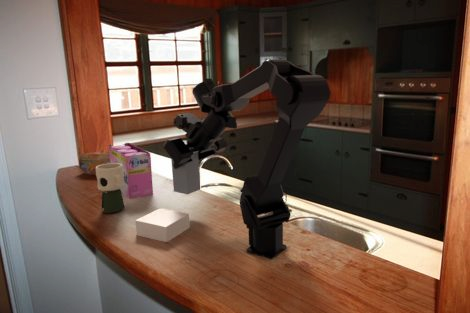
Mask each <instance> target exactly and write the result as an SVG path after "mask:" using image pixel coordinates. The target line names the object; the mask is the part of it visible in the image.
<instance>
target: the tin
mask: <svg viewBox="0 0 470 313" xmlns="http://www.w3.org/2000/svg"><path fill="white" fill-rule="evenodd" d="M78 163H79V164H78V166H79V168H80V170H81V171H82V172H83V173H84V174H86V175H94V176H96V166H98V165H102V164H107V163H110V157H109V152H108V153H107V152H85V153H82V155H81V156H80V158H79V160H78Z"/></svg>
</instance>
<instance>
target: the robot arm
mask: <svg viewBox="0 0 470 313" xmlns="http://www.w3.org/2000/svg"><path fill="white" fill-rule="evenodd" d="M267 90H269V92H270V93H271V94H272V95H273V96H274V97H275V98H276V101H275V106H276V110H277V113H278V117H279V118H278V120H277V122H276V125H275V129H274V130H273V133H272V136H271V138H270V141H269V144H268V147H267V149H266V152H265V153H264V154H265V155H264V158H263V160H262V163H261V166H260V167H259V171H258V173H257V174H256V175H255V174H254V175H251V176H246V178H245V179H244V180H243V185H242V187H241V189H240V190H239V191H240V193H241V194H240V197H239V207H240V213H241V216H242V217H241V218H242V220H243V221H242V222H243V224H244V225H245V226H246V227H245V228H246V229H248V247H247V248H245V249H246V250H245V252H247V253H250V254H253V255H256V256H260V257H263V258H267V259H271V260H273V259H275V258H276V257H278V255H279V254H280V253H283V251H285V249H287V245H286V244H284V223H288V222H289V221H290V218H291V215H292V214H291V212H290V210H289V208H288V206H287V204H286V202H285V200H284V190H283V187H282V181H283V180H284V177H285V174H286V173H287V170H288V168H289V165H290V164H291V162H292V159H293V157H294V154H295V152H296V149H297V147H298V145H299V143H300V140H301V137H302V136H303V133H304V131H305V129H306V127H307V126H308V125H309V124H310V123H311V122H314V120H315V119H317V117H319V116H320V114H322V112H323V110H324V108H325V107H326V106H327V104H328V103H329V100H330V98H331V89H330V86H329V83H328V81H327V79H326V78H325V77H324V76H322V75H320V74H315V73H313V72H311V71H309V70H307V69H304V68H303V67H300V66H298V65H295V64H293V63H292V62H291V61H290V60H287V59H283V58H282V59H281V58H279V59H276V58H275V59H274V58H273V59H272V58H271V59H269V58H268V59H267V60H265V61H263V62H261V65H259V66H258V67H256V68H255V69H254V70H252V71H250V72H248V73H247V74H245V75H244V76H242V77H241V78H239V79H238V80H236V81H234V82H231V83H224V84H220V85H217V86H216V85H215V82H214V81H213V79H212V78H210V77H209V78H204V79H203V81H201V82H199V83H198V84H196V85H195V86H194V87H193V88H192V95H193V98H194V100H195V101H196V103H197V105H198V107H199V109H200V111H201V113H204V114H205V113H206V115H205V116H204V118H203V119H200V118H199V117H197V116H196V115H195V114H193V113H191V112H185V113H180V114H177V115H176V117H174V118H173V123H172V124H173V126H174V127H175V128H177V129H179V130H182V131H183V132H185V134H184V136H185V137H186V139H187V140H186V141H187V142H186V143H187V144H185V143H184V142H183V141H184V140H183V138H181V137H174V138H170V139H166V140H165V142H164V143H163V149H164V150H165V151H166V153H167V154H168V155H169V157H170V159H171V158H172V160H173V161H174V164H173V167H174V168H175V169H177V168H179V167H181V166H183V165H185V164H187V163H189V162H191V161H193V160H192V159H191V156H192V155H193V153H195V152H198V159H199V162H200V161H202V160H205V159H207V158H209V157H212V156H214V155H216V153H217V154H219V153H223V152H224V151H225V150H226V149H227V148H228V142H227V140H226V139H225V138H224V136H223V135H222V134H223V133H224V132H225V131H226V130H227V129H232V130H233V129H234V130H237V128H238V122H237V117H236V116H233V114H232V112H239V111H242V110H243V109H245V108H246V107H247V106H248V105H249V103H250V100H251V98H254V97H256V96H258V95H259V94H261V93H263V92H265V91H267ZM215 146H216V149H215ZM214 149H215V150H214ZM215 151H216V152H215ZM271 212H272V213H271Z"/></svg>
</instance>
